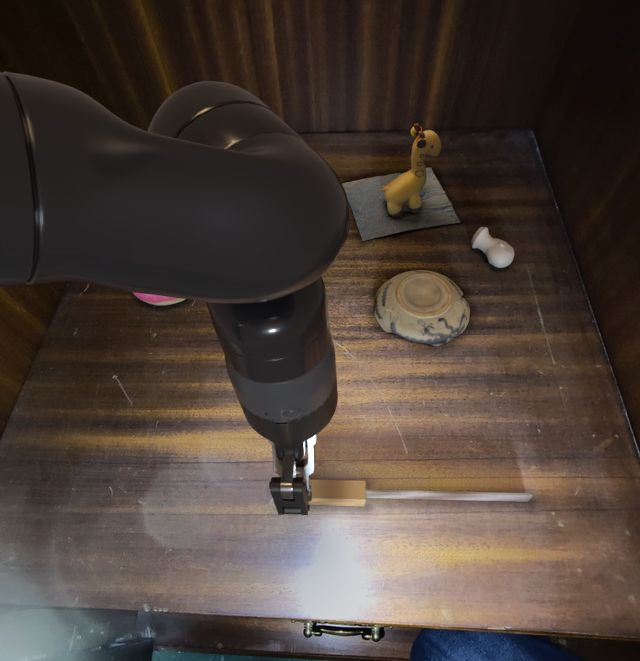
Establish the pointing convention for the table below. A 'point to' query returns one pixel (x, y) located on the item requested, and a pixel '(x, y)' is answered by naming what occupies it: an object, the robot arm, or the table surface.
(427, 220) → the stuffed giraffe
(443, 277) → the decorative bowl
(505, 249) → the smooth white sculpture
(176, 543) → the table surface
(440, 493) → the knife
